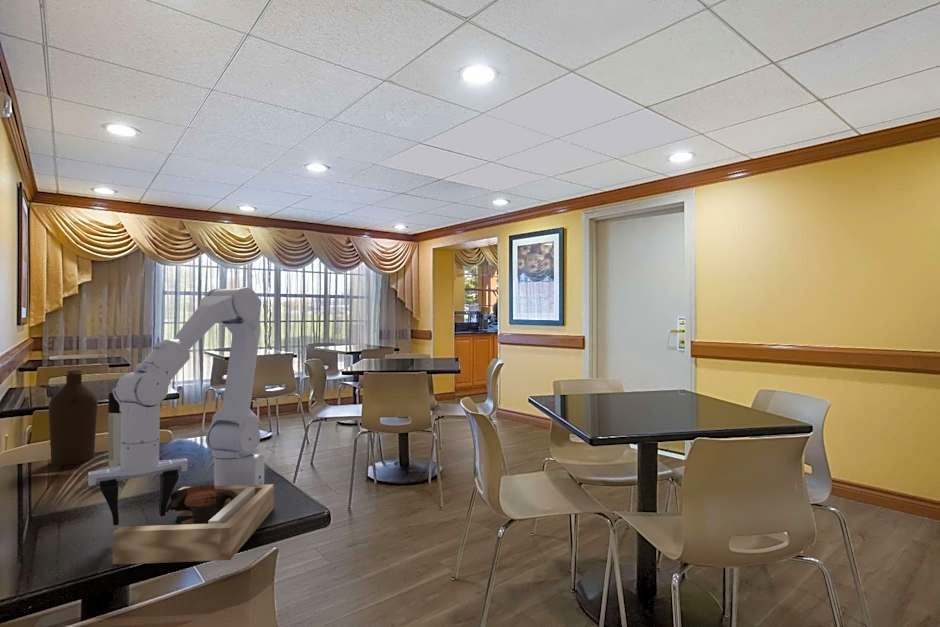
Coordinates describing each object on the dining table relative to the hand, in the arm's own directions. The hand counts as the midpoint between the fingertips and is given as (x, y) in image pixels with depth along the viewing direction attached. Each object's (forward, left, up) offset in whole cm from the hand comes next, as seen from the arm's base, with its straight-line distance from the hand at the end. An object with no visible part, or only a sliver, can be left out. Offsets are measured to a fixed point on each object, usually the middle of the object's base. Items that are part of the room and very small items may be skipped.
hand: (139, 518), depth 90 cm
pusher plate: (-15, 0, -3) cm, 15 cm away
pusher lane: (-8, 0, -3) cm, 9 cm away
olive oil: (+47, -54, -3) cm, 72 cm away
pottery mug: (-11, -2, -4) cm, 11 cm away
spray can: (+28, -44, -3) cm, 52 cm away
